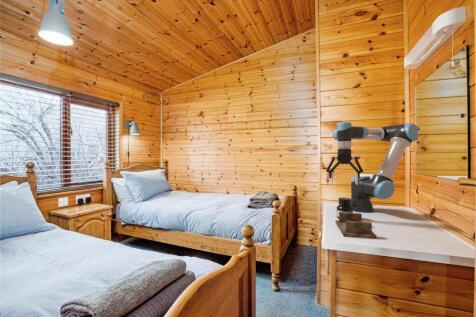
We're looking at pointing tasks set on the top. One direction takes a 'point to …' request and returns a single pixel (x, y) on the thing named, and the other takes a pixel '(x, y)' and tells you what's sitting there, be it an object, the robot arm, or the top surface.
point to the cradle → (354, 226)
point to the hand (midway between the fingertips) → (344, 184)
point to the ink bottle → (344, 206)
